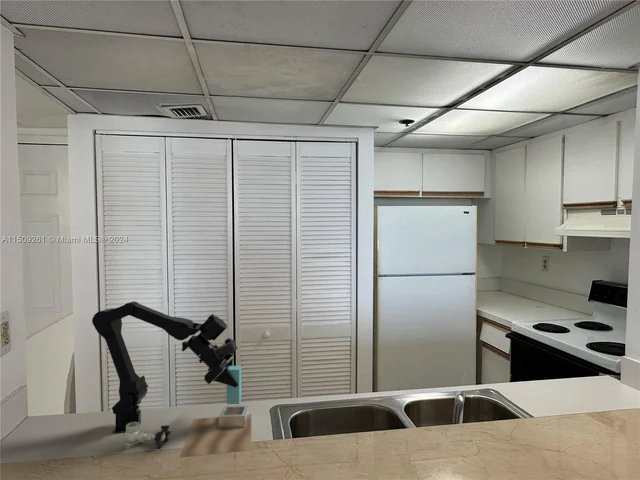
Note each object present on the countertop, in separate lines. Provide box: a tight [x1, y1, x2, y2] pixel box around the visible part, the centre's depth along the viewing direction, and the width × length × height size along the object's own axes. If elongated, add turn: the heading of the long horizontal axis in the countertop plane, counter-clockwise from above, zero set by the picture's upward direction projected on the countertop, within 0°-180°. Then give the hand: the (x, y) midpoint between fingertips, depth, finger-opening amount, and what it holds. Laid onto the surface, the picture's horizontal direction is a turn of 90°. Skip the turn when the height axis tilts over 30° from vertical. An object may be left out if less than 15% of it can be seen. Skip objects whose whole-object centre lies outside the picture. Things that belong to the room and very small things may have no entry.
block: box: [226, 365, 243, 405], centre depth 120 cm, size 4×4×11 cm
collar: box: [218, 404, 250, 428], centre depth 120 cm, size 8×8×4 cm
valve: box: [123, 422, 171, 451], centre depth 106 cm, size 7×7×12 cm
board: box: [179, 413, 252, 458], centre depth 112 cm, size 19×23×1 cm
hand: (238, 383), depth 120 cm, fingers closed on block, 4 cm apart
